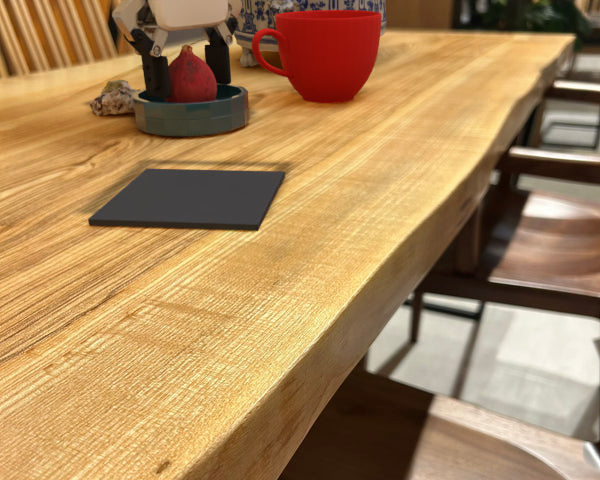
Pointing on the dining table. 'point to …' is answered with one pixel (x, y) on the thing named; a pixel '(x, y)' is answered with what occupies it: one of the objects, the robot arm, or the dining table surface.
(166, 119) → the teal bowl
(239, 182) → the mat
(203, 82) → the onion
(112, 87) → the mineral rock
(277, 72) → the ceramic cup
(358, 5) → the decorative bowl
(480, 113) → the dining table surface
